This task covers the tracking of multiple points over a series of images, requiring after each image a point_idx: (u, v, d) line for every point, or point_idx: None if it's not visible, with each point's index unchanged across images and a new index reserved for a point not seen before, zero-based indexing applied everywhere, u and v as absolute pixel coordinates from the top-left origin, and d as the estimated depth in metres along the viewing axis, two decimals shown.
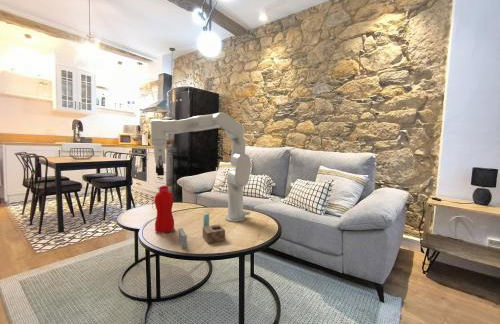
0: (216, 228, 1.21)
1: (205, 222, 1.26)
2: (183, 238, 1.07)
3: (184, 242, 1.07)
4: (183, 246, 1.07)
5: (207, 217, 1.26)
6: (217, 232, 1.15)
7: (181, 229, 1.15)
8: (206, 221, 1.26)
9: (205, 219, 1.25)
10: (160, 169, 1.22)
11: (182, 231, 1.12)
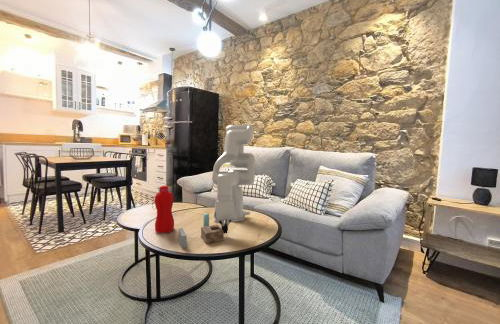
0: (215, 228, 1.21)
1: (205, 222, 1.26)
2: (183, 238, 1.07)
3: (184, 242, 1.07)
4: (183, 246, 1.07)
5: (207, 217, 1.26)
6: (216, 232, 1.15)
7: (181, 229, 1.15)
8: (206, 221, 1.26)
9: (205, 219, 1.25)
10: None
11: (182, 231, 1.12)
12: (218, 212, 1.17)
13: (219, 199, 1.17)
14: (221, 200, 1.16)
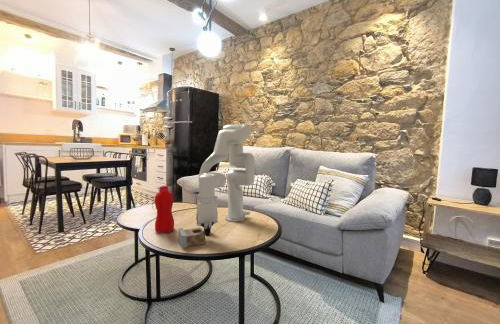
0: (197, 231, 1.17)
1: None
2: (183, 238, 1.07)
3: (184, 242, 1.07)
4: (183, 246, 1.07)
5: None
6: (197, 236, 1.11)
7: (181, 229, 1.15)
8: None
9: None
10: None
11: (182, 231, 1.12)
12: (200, 215, 1.13)
13: (201, 201, 1.13)
14: (203, 202, 1.12)
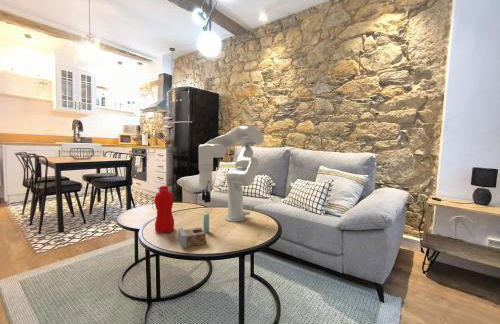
0: (197, 231, 1.17)
1: (205, 222, 1.25)
2: (183, 238, 1.07)
3: (184, 242, 1.07)
4: (183, 246, 1.07)
5: (207, 217, 1.26)
6: (198, 236, 1.11)
7: (181, 229, 1.15)
8: (206, 221, 1.26)
9: (205, 219, 1.25)
10: None
11: (182, 231, 1.12)
12: None
13: (210, 168, 1.22)
14: (212, 168, 1.23)
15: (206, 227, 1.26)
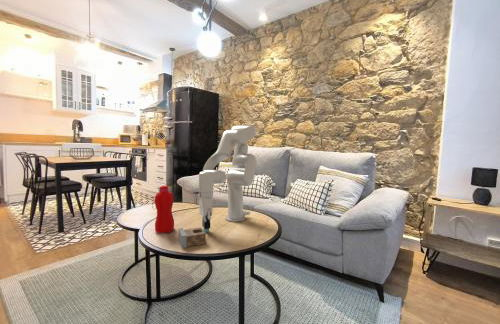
0: (197, 231, 1.17)
1: None
2: (183, 238, 1.07)
3: (184, 242, 1.07)
4: (183, 246, 1.07)
5: None
6: (198, 236, 1.11)
7: (181, 229, 1.15)
8: None
9: None
10: None
11: (182, 231, 1.12)
12: None
13: (210, 195, 1.23)
14: (212, 195, 1.25)
15: None
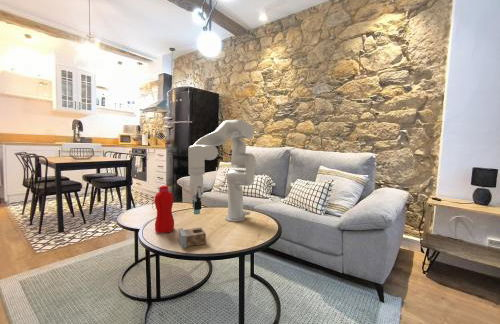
0: (197, 231, 1.17)
1: None
2: (183, 238, 1.07)
3: (184, 242, 1.07)
4: (183, 246, 1.07)
5: None
6: (198, 236, 1.11)
7: (181, 229, 1.15)
8: None
9: None
10: None
11: (182, 231, 1.12)
12: None
13: (201, 172, 1.10)
14: (203, 172, 1.11)
15: None
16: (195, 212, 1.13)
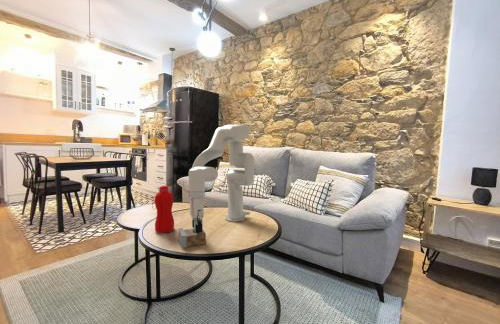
0: None
1: None
2: (183, 238, 1.07)
3: (184, 242, 1.07)
4: (183, 246, 1.07)
5: None
6: (198, 236, 1.11)
7: (181, 229, 1.15)
8: None
9: None
10: None
11: (182, 231, 1.12)
12: (203, 208, 1.11)
13: (201, 195, 1.11)
14: (203, 195, 1.12)
15: None
16: None
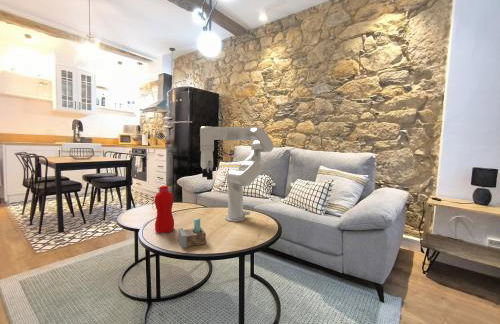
0: None
1: (196, 229, 1.13)
2: (183, 238, 1.07)
3: (184, 242, 1.07)
4: (183, 246, 1.07)
5: (198, 223, 1.13)
6: (198, 236, 1.11)
7: (181, 229, 1.15)
8: (197, 227, 1.13)
9: (196, 225, 1.13)
10: None
11: (182, 231, 1.12)
12: (212, 160, 1.30)
13: (211, 148, 1.30)
14: (213, 149, 1.31)
15: None
16: None
